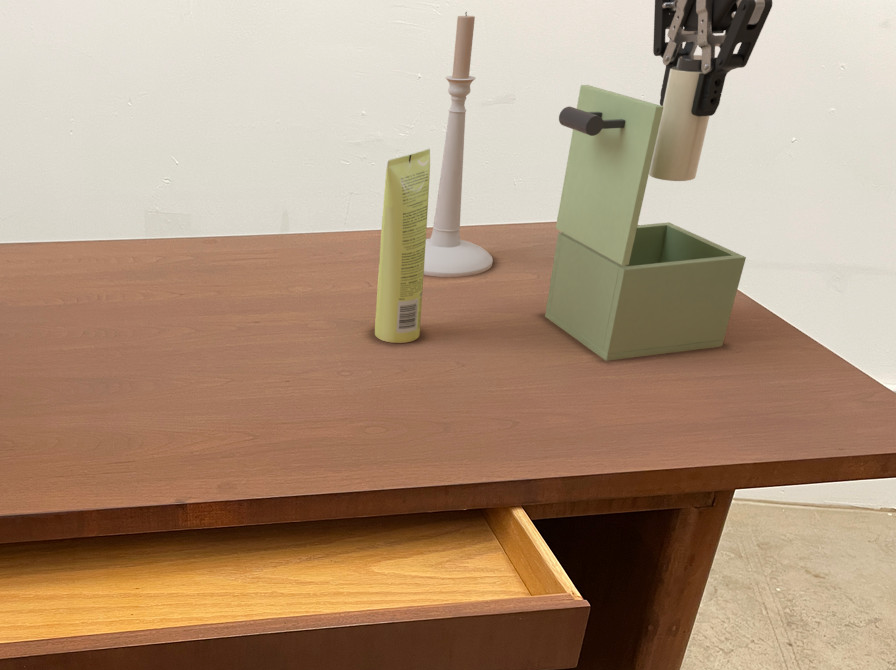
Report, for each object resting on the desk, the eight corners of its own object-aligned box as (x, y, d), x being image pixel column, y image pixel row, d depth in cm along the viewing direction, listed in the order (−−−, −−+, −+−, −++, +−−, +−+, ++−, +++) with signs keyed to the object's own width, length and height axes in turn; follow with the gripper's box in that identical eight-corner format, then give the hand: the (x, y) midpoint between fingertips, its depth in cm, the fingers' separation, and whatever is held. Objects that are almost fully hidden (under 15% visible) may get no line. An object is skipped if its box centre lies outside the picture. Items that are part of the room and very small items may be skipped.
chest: (650, 305, 109) (669, 222, 104) (721, 347, 98) (746, 257, 93) (544, 317, 106) (558, 232, 101) (605, 362, 96) (624, 269, 91)
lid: (587, 84, 93) (542, 86, 92) (664, 106, 83) (614, 108, 82) (561, 228, 101) (520, 231, 100) (628, 265, 90) (583, 268, 89)
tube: (371, 326, 105) (381, 147, 95) (416, 325, 105) (430, 146, 95) (376, 345, 100) (387, 160, 90) (423, 345, 100) (439, 159, 90)
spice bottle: (677, 169, 96) (703, 53, 90) (704, 179, 92) (733, 59, 86) (639, 172, 95) (663, 55, 89) (665, 182, 91) (691, 61, 86)
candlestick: (501, 277, 118) (535, 15, 102) (401, 278, 118) (419, 17, 103) (481, 246, 129) (509, 6, 113) (389, 247, 129) (404, 7, 113)
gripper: (827, -97, 76) (770, 122, 85) (715, -95, 88) (675, 97, 97) (749, -95, 75) (698, 127, 84) (645, -94, 87) (611, 101, 96)
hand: (686, 109), depth 90 cm, fingers closed on spice bottle, 4 cm apart
